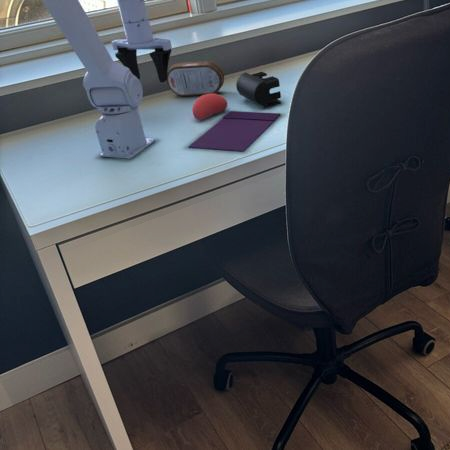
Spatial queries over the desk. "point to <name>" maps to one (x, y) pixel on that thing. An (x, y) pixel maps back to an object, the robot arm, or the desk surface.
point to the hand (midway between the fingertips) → (150, 80)
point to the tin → (195, 78)
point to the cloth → (235, 131)
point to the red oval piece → (208, 105)
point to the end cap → (259, 89)
